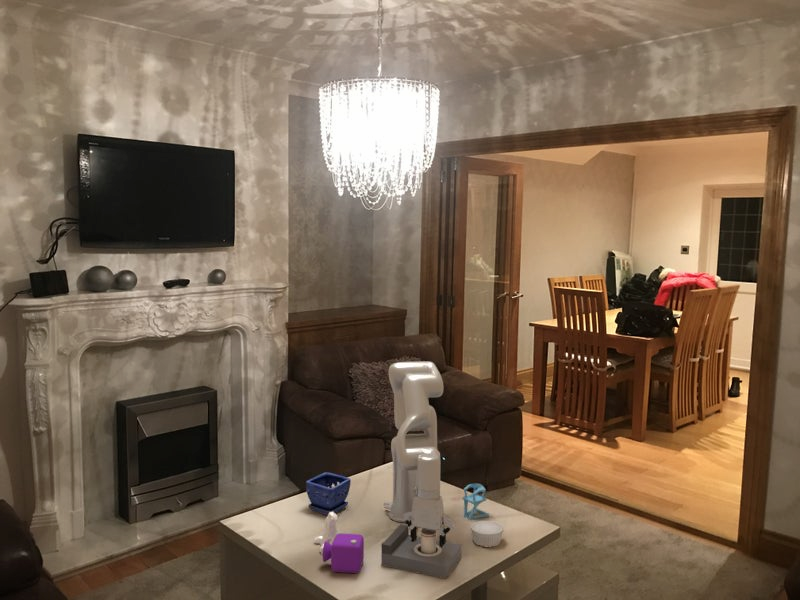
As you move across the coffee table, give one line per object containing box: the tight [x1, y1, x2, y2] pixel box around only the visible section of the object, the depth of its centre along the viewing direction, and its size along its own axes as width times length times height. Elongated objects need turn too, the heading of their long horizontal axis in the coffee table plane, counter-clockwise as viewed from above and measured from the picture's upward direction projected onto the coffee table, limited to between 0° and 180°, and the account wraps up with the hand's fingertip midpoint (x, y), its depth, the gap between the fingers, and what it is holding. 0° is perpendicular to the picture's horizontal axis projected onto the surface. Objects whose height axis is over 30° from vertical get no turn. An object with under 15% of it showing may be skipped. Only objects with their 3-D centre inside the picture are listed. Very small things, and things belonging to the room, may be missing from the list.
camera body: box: [380, 524, 462, 580], centre depth 214 cm, size 22×16×7 cm
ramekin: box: [470, 520, 504, 548], centre depth 228 cm, size 11×11×5 cm
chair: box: [462, 483, 490, 520], centre depth 249 cm, size 8×8×12 cm
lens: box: [420, 528, 437, 554], centre depth 213 cm, size 5×5×9 cm
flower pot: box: [305, 472, 352, 516], centre depth 254 cm, size 13×13×12 cm
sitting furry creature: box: [314, 512, 340, 553], centre depth 223 cm, size 10×9×12 cm
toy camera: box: [320, 532, 365, 574], centre depth 209 cm, size 11×14×10 cm
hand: (427, 543), depth 213 cm, fingers open, 9 cm apart
